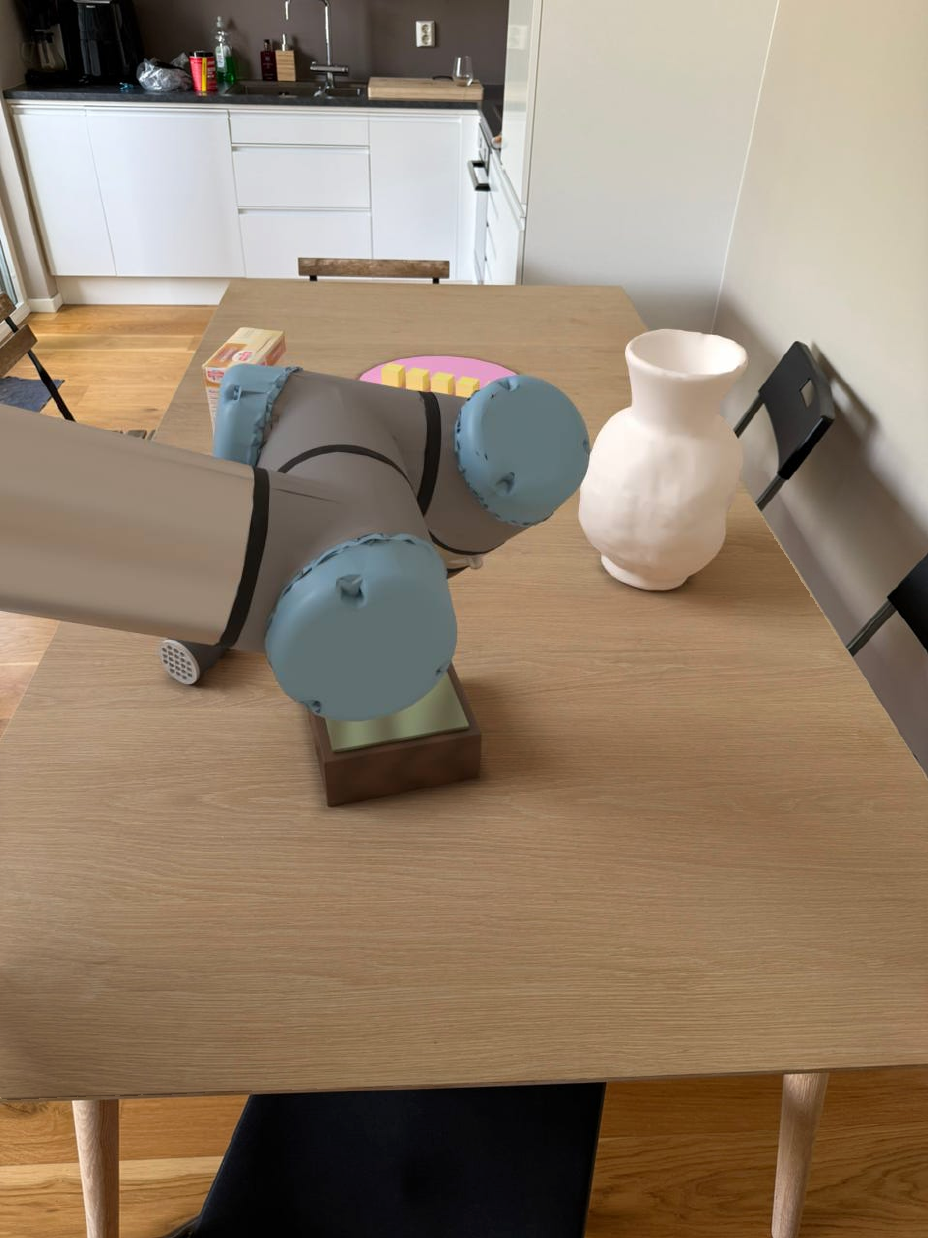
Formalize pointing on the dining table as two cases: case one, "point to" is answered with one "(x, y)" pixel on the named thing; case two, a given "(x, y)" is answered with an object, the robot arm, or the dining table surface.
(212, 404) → the coffeecake box
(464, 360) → the platter
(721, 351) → the vase
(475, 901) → the dining table surface
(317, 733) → the stand
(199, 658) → the flashlight
